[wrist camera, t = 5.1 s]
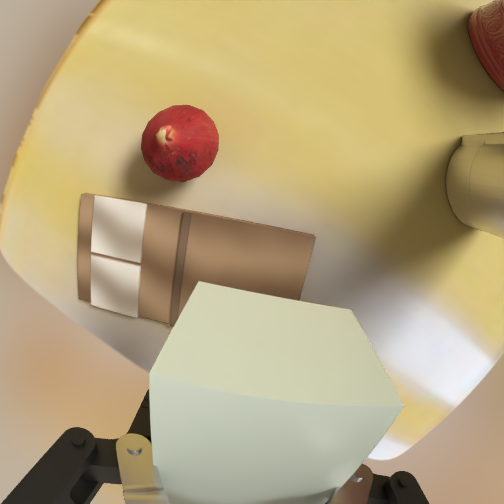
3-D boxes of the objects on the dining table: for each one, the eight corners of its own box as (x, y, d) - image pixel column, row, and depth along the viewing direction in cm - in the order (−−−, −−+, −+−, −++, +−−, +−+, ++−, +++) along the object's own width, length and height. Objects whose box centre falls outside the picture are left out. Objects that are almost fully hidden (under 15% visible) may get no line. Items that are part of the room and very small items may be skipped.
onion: (232, 167, 24) (221, 163, 17) (171, 189, 25) (136, 197, 17) (212, 106, 23) (192, 78, 15) (152, 130, 23) (111, 115, 16)
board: (86, 192, 25) (79, 193, 24) (313, 233, 26) (316, 237, 24) (83, 295, 28) (77, 300, 26) (284, 341, 29) (285, 348, 27)
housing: (198, 280, 11) (149, 373, 6) (351, 309, 11) (404, 406, 6) (181, 445, 14) (160, 521, 8) (283, 460, 14) (286, 538, 9)
